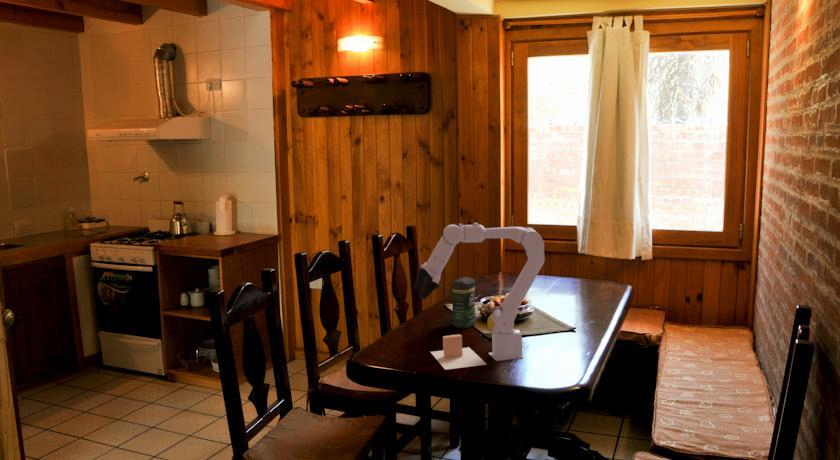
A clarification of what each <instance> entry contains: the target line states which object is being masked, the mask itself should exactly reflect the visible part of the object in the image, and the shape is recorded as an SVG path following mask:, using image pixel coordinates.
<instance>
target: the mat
mask: <svg viewBox="0 0 840 460" xmlns="http://www.w3.org/2000/svg"><path fill="white" fill-rule="evenodd" d="M430 353H431V355H432V356H433V357H434V358H435V359H436V360H437V362H438V364H440V365H441V367H442V368H443V369H444V370H446V371H447V370H448V371H449V370H454V369H461V368H470V367H478V366H485V365H488V364H487V363H486V362H485V361H484V360H483V359H482V358H481V357H480V355H478V354H477V353H476V352H475V351H474V350H473V349H471V347H469V346H467V347H462V354H463V356H461V357H453V358H445V357H444V353H443V349H442V350H436V351H435V350H434V351H430Z"/></svg>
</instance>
